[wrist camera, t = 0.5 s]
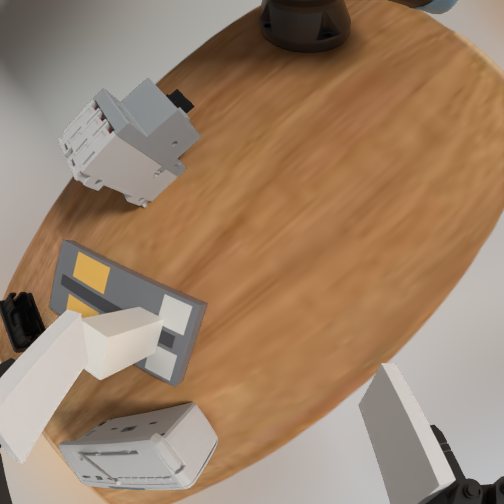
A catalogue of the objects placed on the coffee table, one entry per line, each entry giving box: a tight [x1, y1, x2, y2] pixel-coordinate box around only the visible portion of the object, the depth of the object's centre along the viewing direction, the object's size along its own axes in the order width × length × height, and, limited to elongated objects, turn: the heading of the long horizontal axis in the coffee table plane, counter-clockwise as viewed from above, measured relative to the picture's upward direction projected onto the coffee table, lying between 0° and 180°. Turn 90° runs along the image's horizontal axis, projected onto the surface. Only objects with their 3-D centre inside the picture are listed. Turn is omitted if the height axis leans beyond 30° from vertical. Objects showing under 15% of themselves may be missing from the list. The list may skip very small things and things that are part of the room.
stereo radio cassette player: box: [59, 402, 218, 490], centre depth 28 cm, size 21×8×20 cm, turn 114°
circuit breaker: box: [58, 78, 202, 208], centre depth 32 cm, size 8×14×15 cm, turn 129°
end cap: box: [0, 292, 46, 353], centre depth 40 cm, size 10×7×7 cm
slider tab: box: [82, 307, 164, 380], centre depth 30 cm, size 5×4×12 cm
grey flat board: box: [50, 239, 208, 387], centre depth 38 cm, size 12×26×3 cm, turn 70°
